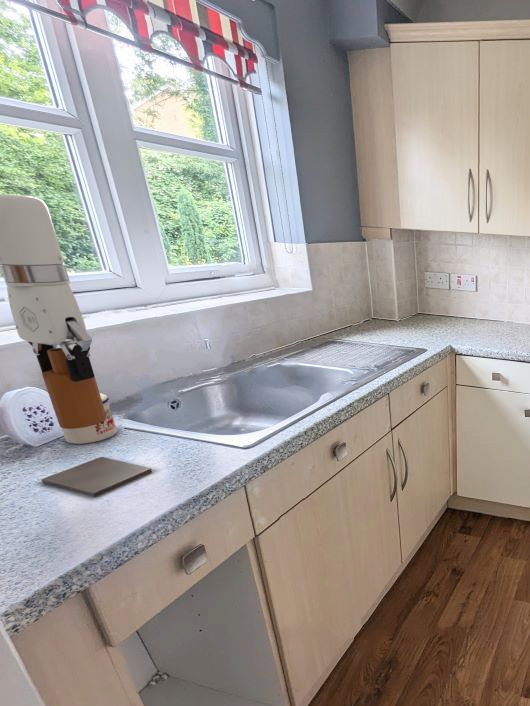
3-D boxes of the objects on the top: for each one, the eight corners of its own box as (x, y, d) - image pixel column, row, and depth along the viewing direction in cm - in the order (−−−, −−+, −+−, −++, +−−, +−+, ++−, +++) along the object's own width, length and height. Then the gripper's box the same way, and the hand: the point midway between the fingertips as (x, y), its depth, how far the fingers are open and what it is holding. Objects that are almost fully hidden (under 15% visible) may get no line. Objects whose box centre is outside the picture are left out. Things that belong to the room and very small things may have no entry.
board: (42, 482, 86) (41, 479, 86) (102, 459, 95) (101, 456, 95) (95, 497, 82) (93, 493, 82) (152, 471, 91) (151, 468, 91)
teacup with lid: (108, 442, 102) (94, 393, 98) (56, 447, 99) (38, 397, 95) (129, 422, 113) (117, 377, 109) (82, 426, 109) (68, 380, 105)
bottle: (51, 425, 83) (25, 351, 78) (91, 413, 89) (69, 343, 84) (75, 431, 81) (50, 355, 76) (115, 418, 87) (94, 347, 82)
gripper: (-29, 273, 74) (10, 376, 81) (44, 280, 70) (78, 389, 76) (30, 270, 81) (61, 366, 87) (99, 277, 77) (127, 377, 83)
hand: (69, 376), depth 82 cm, fingers closed on bottle, 6 cm apart
